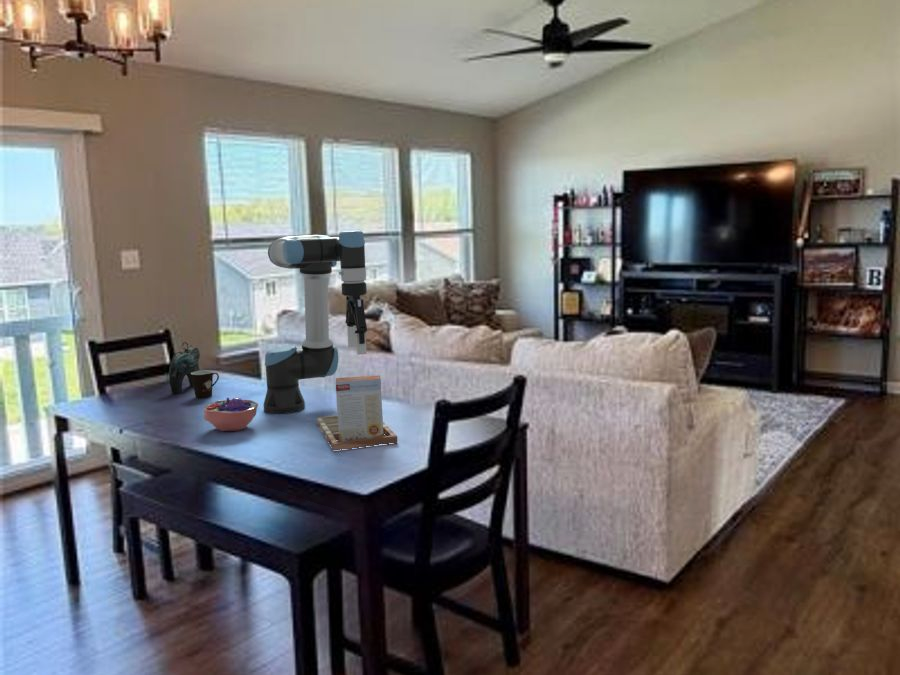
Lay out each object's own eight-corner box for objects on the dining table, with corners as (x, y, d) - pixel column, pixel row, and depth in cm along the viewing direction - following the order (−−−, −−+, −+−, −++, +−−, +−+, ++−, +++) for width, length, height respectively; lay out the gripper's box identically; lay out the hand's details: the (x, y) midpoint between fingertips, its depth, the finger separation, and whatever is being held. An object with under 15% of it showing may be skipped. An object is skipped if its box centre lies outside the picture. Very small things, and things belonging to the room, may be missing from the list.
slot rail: (316, 424, 255) (316, 417, 255) (373, 417, 261) (373, 410, 261) (333, 452, 224) (333, 444, 224) (397, 443, 231) (397, 436, 230)
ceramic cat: (192, 383, 327) (188, 338, 323) (206, 383, 325) (202, 339, 322) (167, 394, 307) (162, 347, 304) (181, 394, 306) (177, 347, 303)
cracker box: (383, 438, 237) (380, 374, 234) (384, 443, 231) (381, 378, 228) (339, 441, 235) (335, 376, 232) (338, 446, 229) (335, 381, 226)
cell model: (236, 419, 266) (234, 388, 264) (269, 428, 253) (267, 395, 251) (193, 430, 253) (191, 397, 251) (226, 440, 240) (223, 406, 238)
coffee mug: (195, 400, 295) (192, 375, 294) (190, 396, 303) (188, 372, 301) (224, 395, 301) (222, 372, 300) (219, 391, 309) (217, 368, 307)
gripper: (334, 279, 235) (337, 345, 239) (349, 286, 212) (353, 358, 215) (357, 278, 238) (360, 343, 241) (375, 284, 214) (378, 356, 218)
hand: (357, 350), depth 228 cm, fingers open, 13 cm apart
